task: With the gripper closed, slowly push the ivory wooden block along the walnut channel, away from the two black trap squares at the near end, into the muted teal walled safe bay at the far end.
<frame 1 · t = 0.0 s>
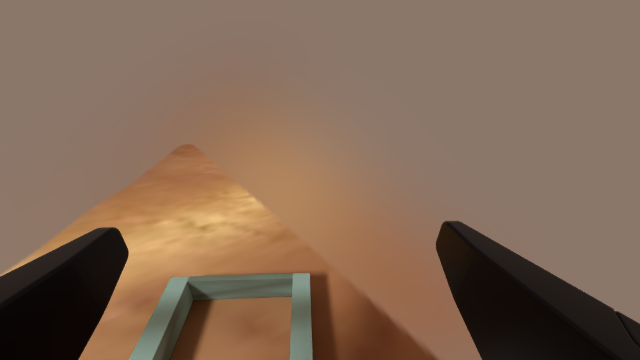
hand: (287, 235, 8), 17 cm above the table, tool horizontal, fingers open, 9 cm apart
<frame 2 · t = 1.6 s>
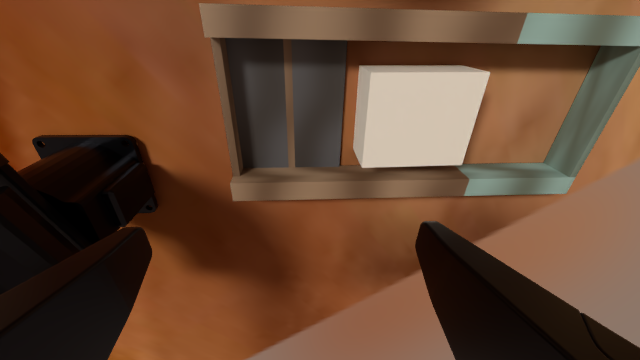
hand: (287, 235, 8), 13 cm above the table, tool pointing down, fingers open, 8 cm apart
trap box: (410, 109, 19), on the table
ivory block: (402, 108, 20), on the table
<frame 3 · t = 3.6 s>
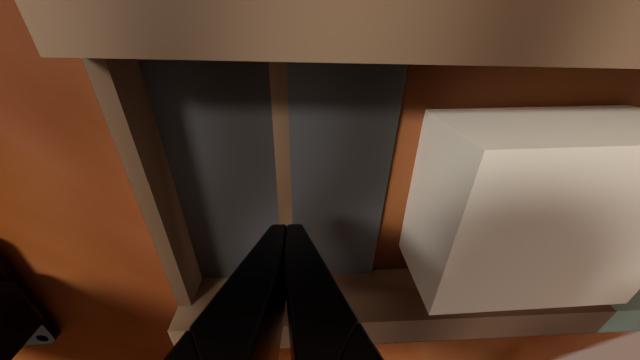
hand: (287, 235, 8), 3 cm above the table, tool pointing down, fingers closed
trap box: (511, 184, 10), on the table
ivory block: (494, 181, 11), on the table
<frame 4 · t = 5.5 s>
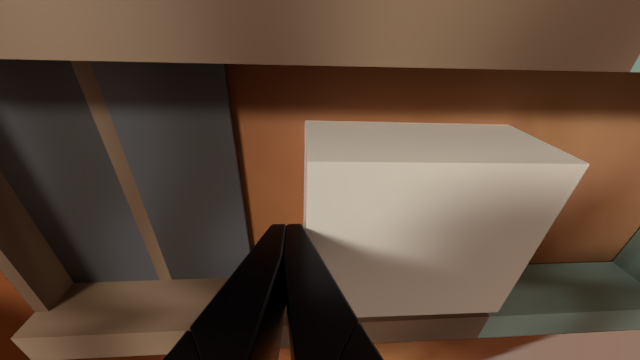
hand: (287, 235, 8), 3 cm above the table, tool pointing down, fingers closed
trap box: (376, 187, 10), on the table
ivory block: (389, 190, 11), on the table, touching gripper
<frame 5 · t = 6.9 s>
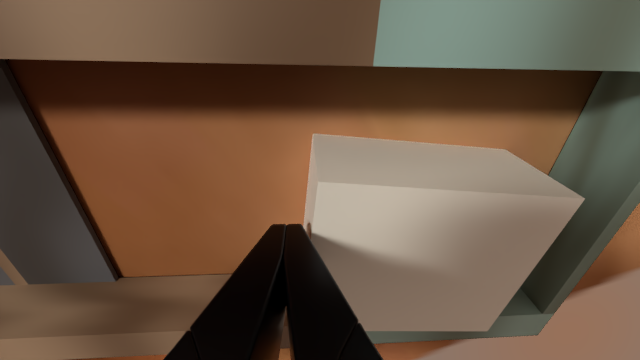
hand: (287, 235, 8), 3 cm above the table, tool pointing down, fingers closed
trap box: (219, 188, 10), on the table
ivory block: (389, 205, 11), on the table
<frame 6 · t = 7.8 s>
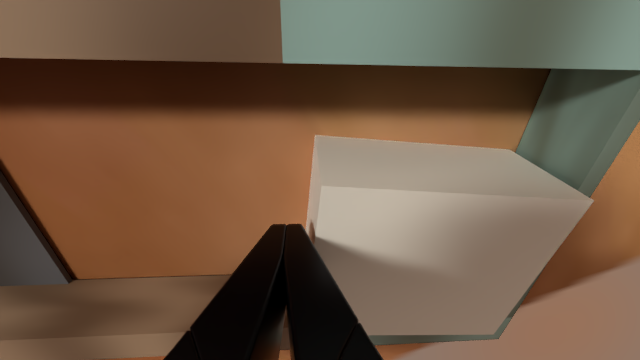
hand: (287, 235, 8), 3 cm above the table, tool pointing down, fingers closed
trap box: (165, 189, 9), on the table
ivory block: (392, 207, 11), on the table
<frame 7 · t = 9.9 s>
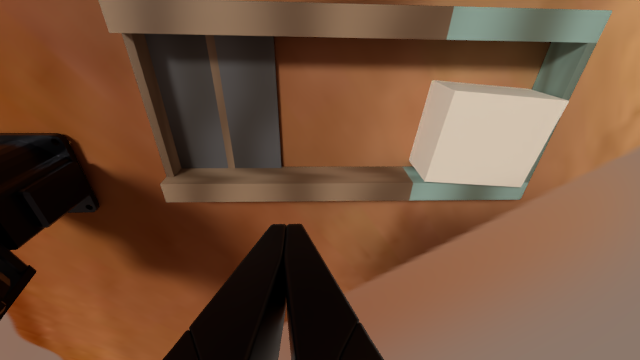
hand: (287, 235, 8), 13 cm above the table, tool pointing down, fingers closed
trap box: (350, 109, 18), on the table
ivory block: (463, 125, 20), on the table
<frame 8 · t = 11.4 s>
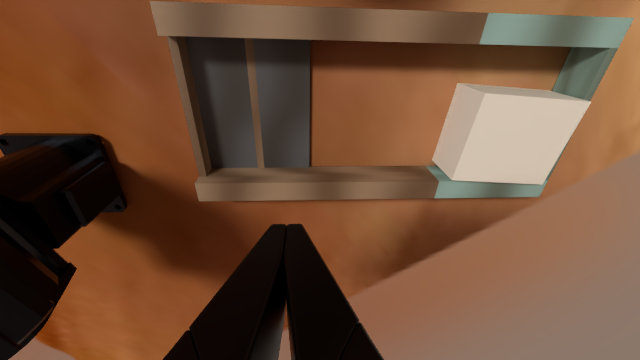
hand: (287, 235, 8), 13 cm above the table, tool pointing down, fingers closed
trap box: (378, 110, 19), on the table
ivory block: (485, 126, 21), on the table
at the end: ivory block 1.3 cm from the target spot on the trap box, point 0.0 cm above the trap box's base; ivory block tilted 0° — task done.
